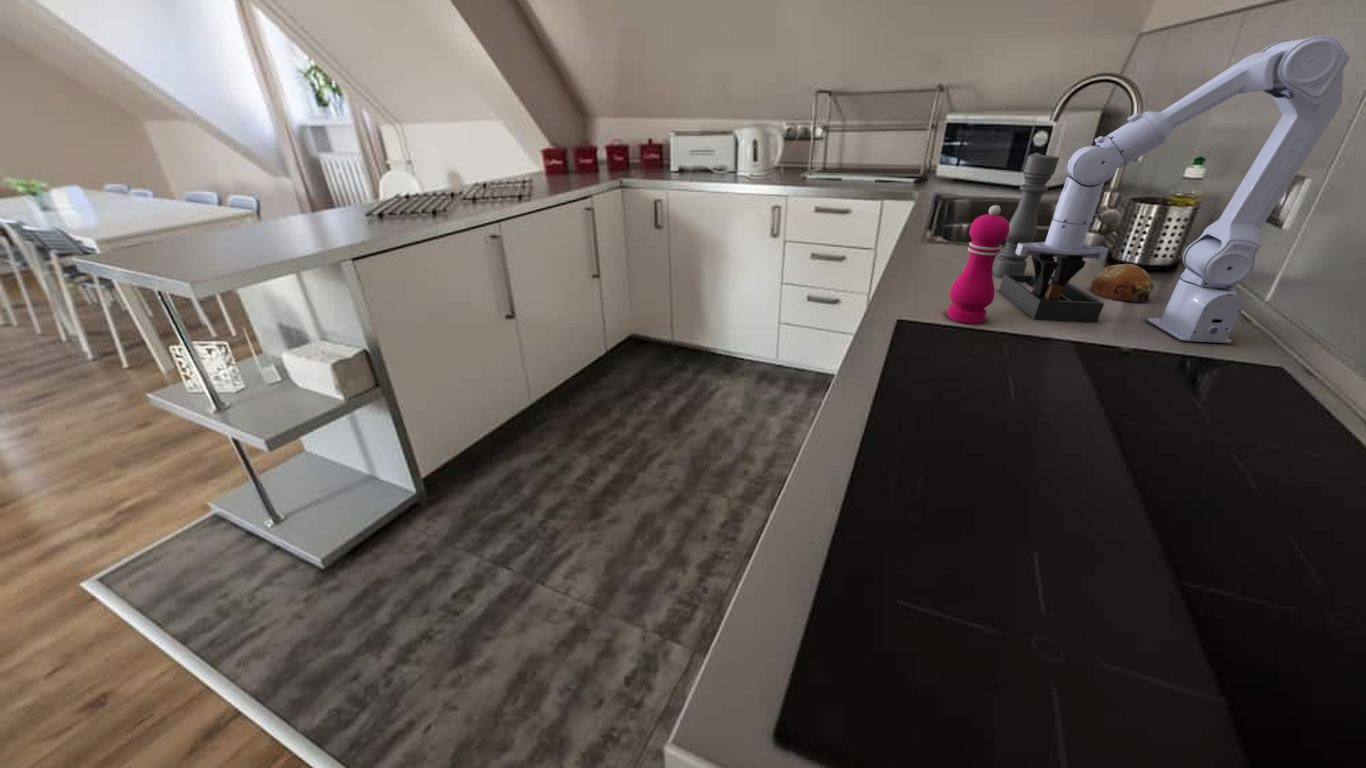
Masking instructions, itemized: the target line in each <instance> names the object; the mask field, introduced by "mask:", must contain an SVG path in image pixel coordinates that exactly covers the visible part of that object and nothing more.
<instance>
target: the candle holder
mask: <svg viewBox="0 0 1366 768" xmlns="http://www.w3.org/2000/svg"><path fill="white" fill-rule="evenodd" d="M1059 160H1060V156H1055V155H1046V154H1028V155H1027V157H1026V161H1025V164H1024V168H1023V171H1022V172H1023V173H1024V174H1023V178H1024V183H1023V184H1021V185H1020V186H1019V190H1020V191H1021V192H1020V193H1021V194H1020V198H1019V202H1018V204H1017V208H1016V209H1015V211H1014V213H1013V215H1012V216H1011V218H1010V220H1009V221H1008V223H1009V226H1010V230H1009V234H1008V237H1007V238H1006V239H1005V240H1004V241H1006V242H1005V246H1004V247H1003V248H1002V249H1000V254H998V255H999V256H996V258H995V262H994V265H993V268H992V275H994V276H996V277H999V278H1002V279H1003V276H1004V274H1014V275H1025V271H1026V269H1027V265H1028V261H1027V259H1028V258H1029V256H1019V255H1017V254H1015V252H1016V249H1017V246H1018V243H1033V241H1034V240H1035V238H1036V236H1037V231H1038V230H1037V229H1038V215H1039V213H1038V211H1039V207H1040V204H1041V200H1042V197H1043V195H1044V194H1045V193H1047V192H1048V190H1049V188H1048V186H1047V185H1046V184H1048V182H1049V181H1050V180H1051V179H1052V177H1053V175H1054V174H1056V173H1055V172H1056V169H1057V165H1058V162H1059Z"/></svg>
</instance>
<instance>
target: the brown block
mask: <svg viewBox="0 0 1366 768" xmlns="http://www.w3.org/2000/svg"><path fill="white" fill-rule="evenodd" d="M1019 283H1020V284H1021V285H1022V286H1024V287H1025V288H1026V289H1028V290H1029V291H1031V292H1032V293H1033V294H1035V293H1034V291H1035V285H1034V288H1033V287H1031V286H1029V285H1028V284H1026V283H1023V284H1022V283H1021V282H1019ZM1063 288H1064V287H1063V286H1061V285H1059V284H1058V283H1056V282H1055V281H1053V280H1052V279H1050V280H1049V283H1048V286H1047V289H1046V291H1045V293H1044V295H1043V297H1039V296H1038V295H1036V294H1035V295H1036V296H1037V297H1039V298H1040V299H1042V300H1059V299H1060V296H1061V293H1062V291H1063Z"/></svg>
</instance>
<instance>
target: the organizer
mask: <svg viewBox="0 0 1366 768" xmlns="http://www.w3.org/2000/svg"><path fill="white" fill-rule="evenodd" d="M1053 277H1054V275H1052V276H1051V278H1050V279H1052V280H1053ZM1019 282H1021V283H1022V284H1023V283H1026V284H1028V285H1029V286H1031V287H1033V288H1034V285H1035V274H1034V275H1033V274H1024V275H1014V274H1004V276H1003V278H1002V279H1001V282H1000V286H999V289H998V291H999V292H1000V293H1001V294H1002V295H1004V296H1005V297H1006V298H1007V299H1009V300H1010V301H1011V302H1012V303H1013V304H1014V305H1016V306H1017V307H1018V308H1019V309H1021V311H1023V312H1024V313H1026V314H1027V315H1028V316H1029V317H1031V318H1032V319H1033V320H1044V321H1046V320H1047V321H1065V322H1083V323H1084V322H1086V323H1089V322H1090V323H1097V322H1098V320H1099V317H1100V315H1101V313H1102V310H1103V307H1104V305H1105V303H1104V302H1102V301H1101V300H1100V299H1097V298H1096V297H1094V296H1092V295H1091V294H1090V293H1088V292H1086V291H1084V290H1083V289H1081V288H1079V287H1078V286H1076V285H1075V284H1073V283H1071V282H1070V281H1069V282H1068V283H1067V284H1066V285H1065V287H1064V288H1063V291H1062V293H1061V296H1060V299H1059V300H1042V299H1040V298H1039V297H1037V296H1036V295H1035V294H1033V293H1032V292H1031V291H1029V290H1028V289H1026V288H1025V287H1024V286H1022V285H1021V284H1020V283H1019Z"/></svg>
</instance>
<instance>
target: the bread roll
mask: <svg viewBox="0 0 1366 768" xmlns="http://www.w3.org/2000/svg"><path fill="white" fill-rule="evenodd" d="M1090 287H1091V291H1092V292H1093V293H1094V294H1097V295H1099V296H1101V297H1104V298H1107V299H1112V300H1115V301H1121V302H1131V303H1138V302H1143V301H1146V300H1147V299H1149V297H1150V295H1151V294H1153V290H1154V283H1153V280H1152V278H1151V275H1150V274H1149V273H1148V272H1147V271H1146V270H1145V269H1143V268H1141V267H1140V266H1138V265H1136V264H1132V263H1122V264H1112V265H1108V266H1107V267H1105V268H1103V269H1101V270H1100V271H1099V272H1098V273H1096V275H1094V277H1093V279H1092V281H1091V285H1090Z"/></svg>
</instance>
